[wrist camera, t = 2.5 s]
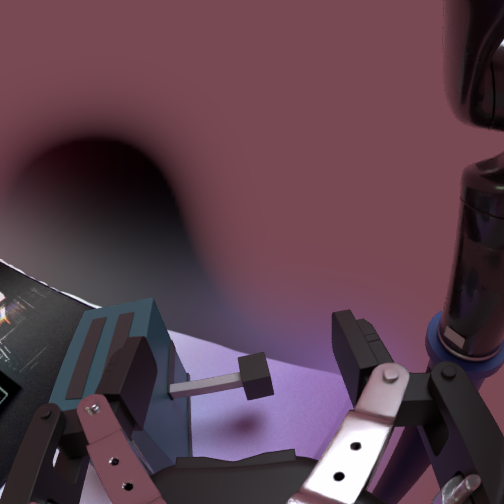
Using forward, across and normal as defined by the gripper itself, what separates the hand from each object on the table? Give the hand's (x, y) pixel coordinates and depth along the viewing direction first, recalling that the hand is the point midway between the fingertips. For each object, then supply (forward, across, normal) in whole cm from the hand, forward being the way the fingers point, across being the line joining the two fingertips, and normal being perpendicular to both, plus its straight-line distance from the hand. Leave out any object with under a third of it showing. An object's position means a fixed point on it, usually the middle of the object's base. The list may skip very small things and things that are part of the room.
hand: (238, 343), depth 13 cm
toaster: (+9, +12, +18) cm, 24 cm away
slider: (+10, +4, +13) cm, 17 cm away
